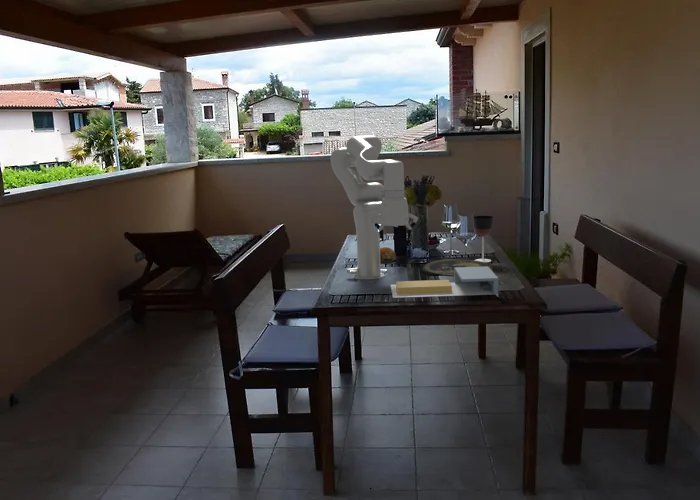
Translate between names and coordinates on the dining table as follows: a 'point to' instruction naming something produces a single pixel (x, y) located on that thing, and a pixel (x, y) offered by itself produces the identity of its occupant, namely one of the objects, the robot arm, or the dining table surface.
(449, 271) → the decorative plate
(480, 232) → the wineglass
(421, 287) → the ochre panel
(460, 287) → the overhang dock
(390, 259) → the bread roll
